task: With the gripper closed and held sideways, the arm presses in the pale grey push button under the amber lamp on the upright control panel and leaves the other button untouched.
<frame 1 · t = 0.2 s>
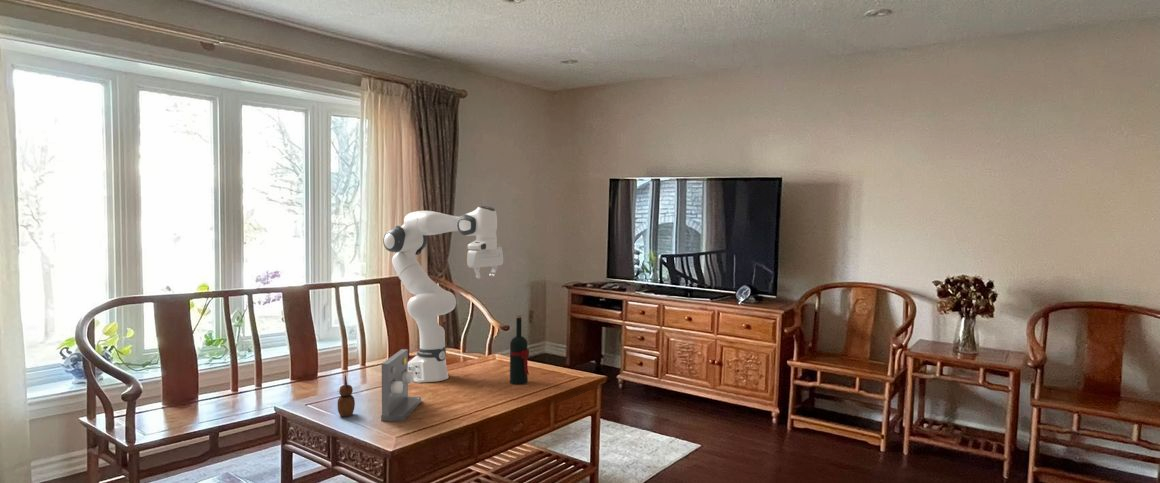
hand: (485, 277, 279), 48 cm above the table, tool pointing down, fingers open, 8 cm apart
wooden figurine: (346, 415, 245), on the table
lit button: (408, 377, 257), point 11 cm above the table, slide at 0.0 cm
wine bottle: (520, 383, 291), on the table
control panel: (403, 410, 251), on the table
unlit button: (397, 387, 243), point 11 cm above the table, slide at 0.0 cm
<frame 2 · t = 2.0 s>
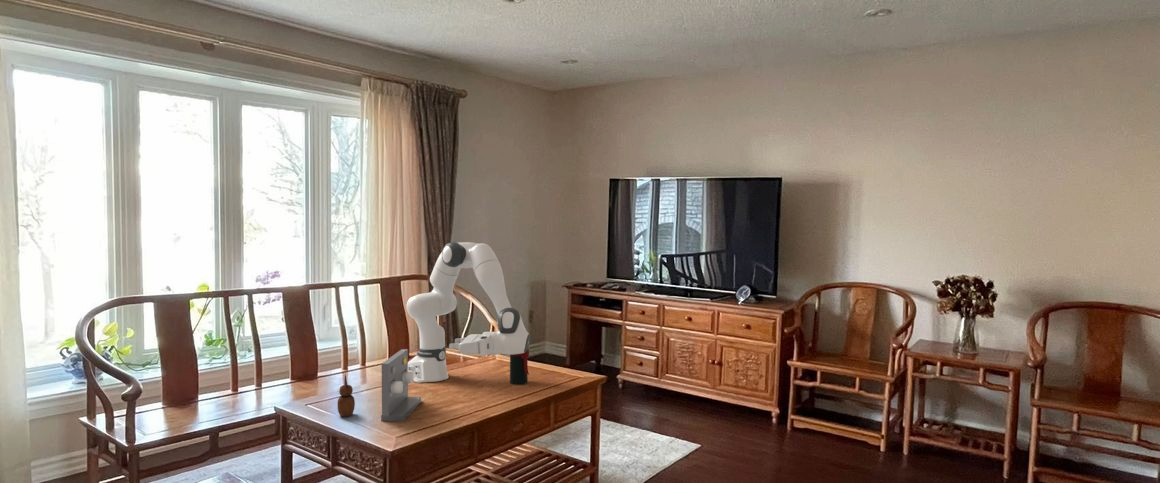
hand: (452, 343, 256), 25 cm above the table, tool horizontal, fingers open, 8 cm apart
nothing on the table moved.
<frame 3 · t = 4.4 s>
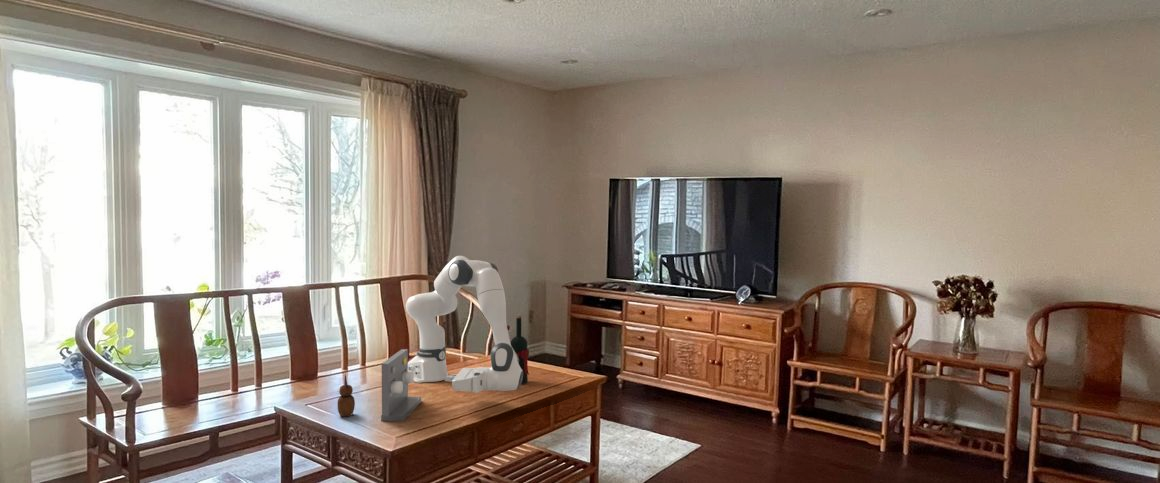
hand: (445, 378, 256), 11 cm above the table, tool horizontal, fingers closed
nothing on the table moved.
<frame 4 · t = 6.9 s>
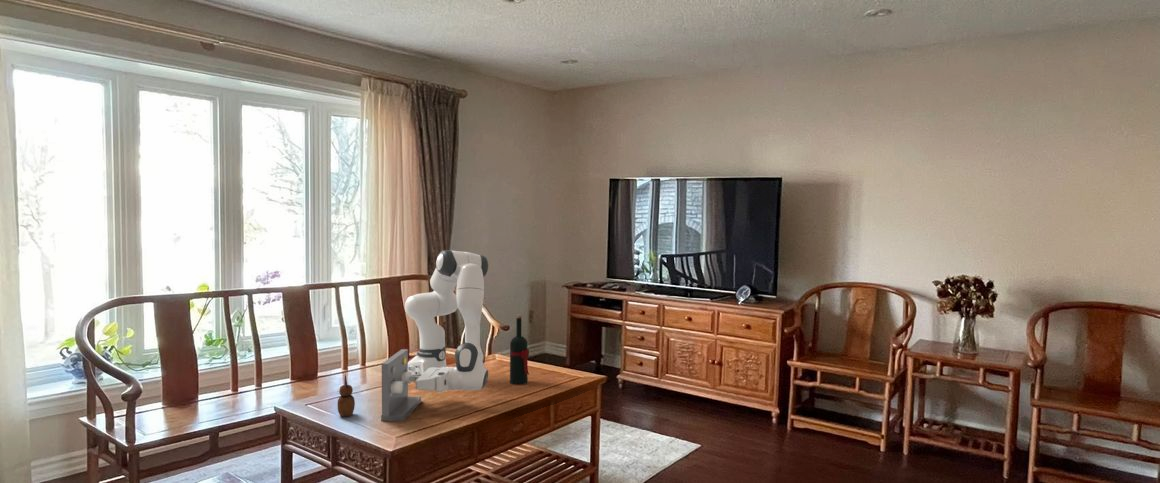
hand: (410, 377, 257), 11 cm above the table, tool horizontal, fingers closed, pressing on lit button
lit button: (406, 377, 257), point 11 cm above the table, slide at 0.7 cm, touching gripper
everything else where it was.
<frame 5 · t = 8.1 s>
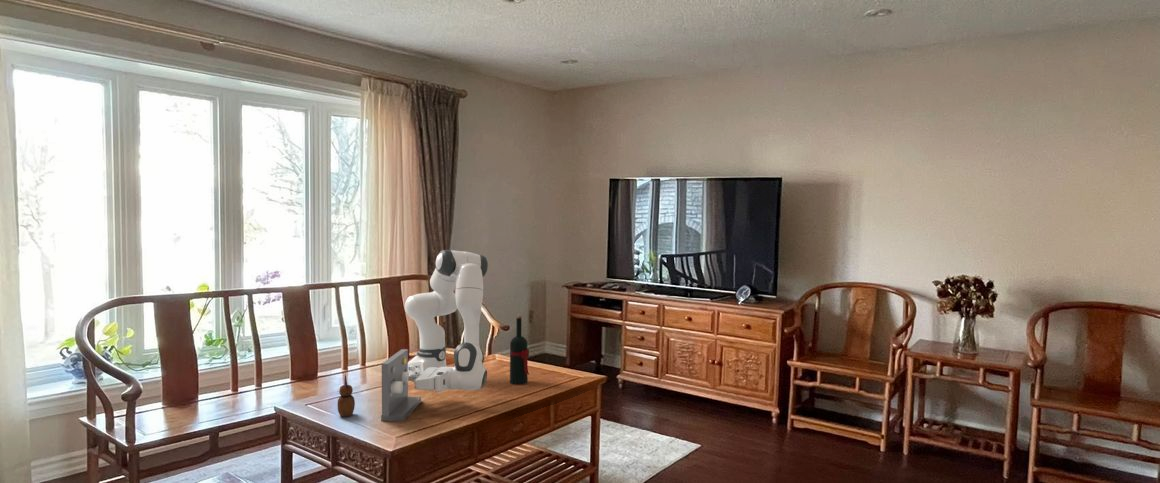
hand: (409, 377, 257), 11 cm above the table, tool horizontal, fingers closed
lit button: (403, 377, 257), point 11 cm above the table, slide at 1.9 cm
everything else where it was.
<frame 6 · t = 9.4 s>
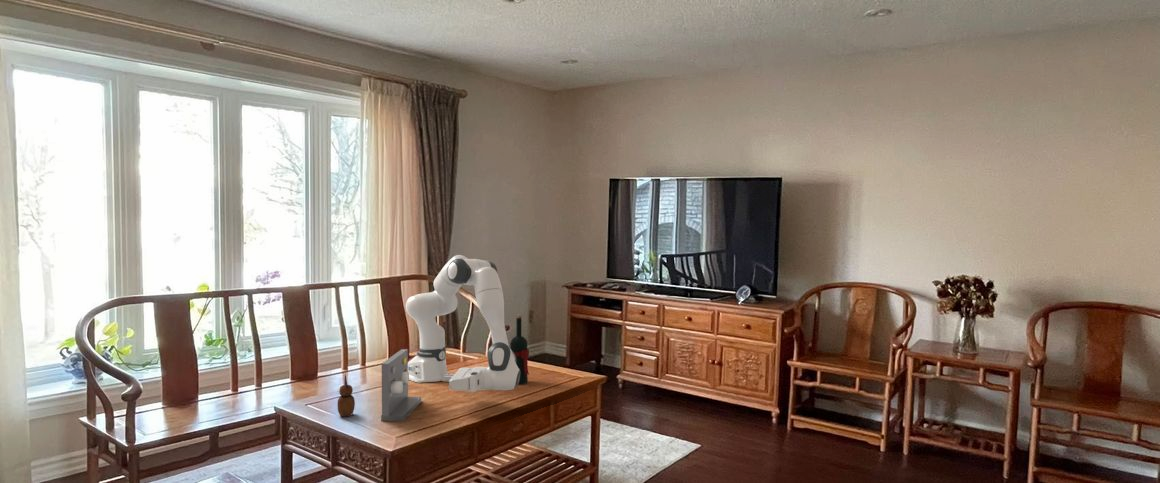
hand: (442, 377, 256), 11 cm above the table, tool horizontal, fingers closed
nothing on the table moved.
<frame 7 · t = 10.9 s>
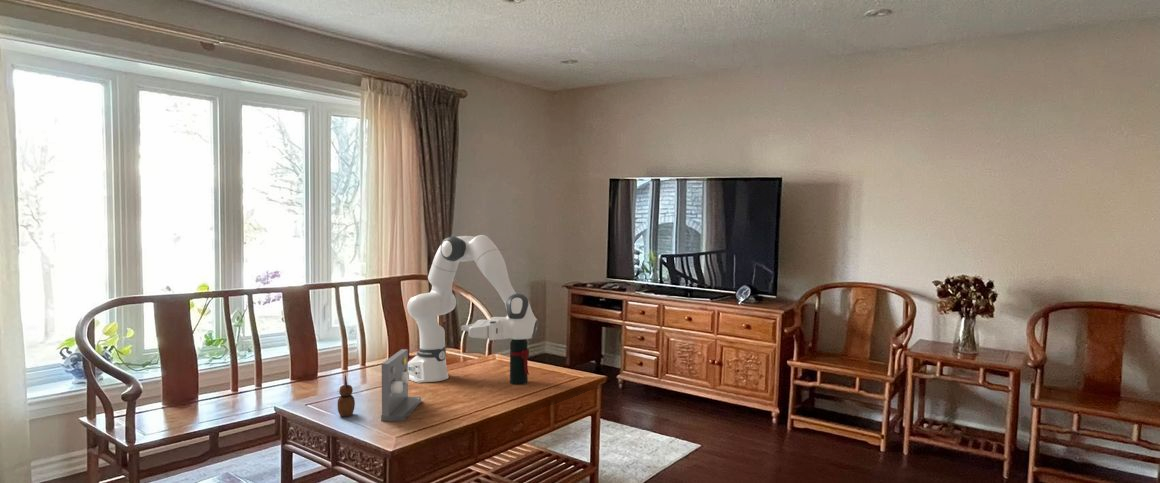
hand: (461, 327, 261), 30 cm above the table, tool horizontal, fingers closed
nothing on the table moved.
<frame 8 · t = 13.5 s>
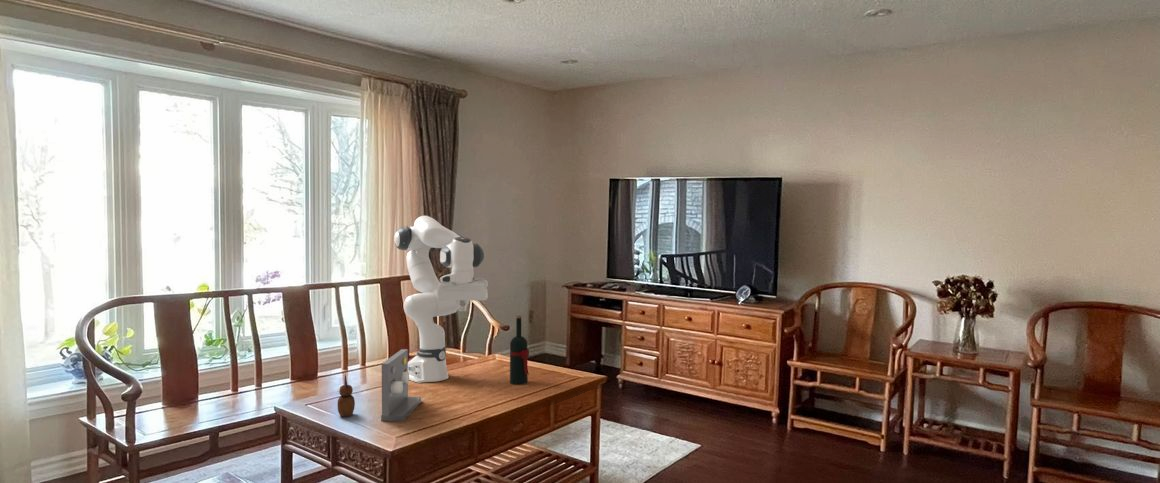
hand: (462, 311, 269), 35 cm above the table, tool pointing down, fingers closed
nothing on the table moved.
at the end: lit button slide at 1.9 cm; unlit button slide at 0.0 cm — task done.
